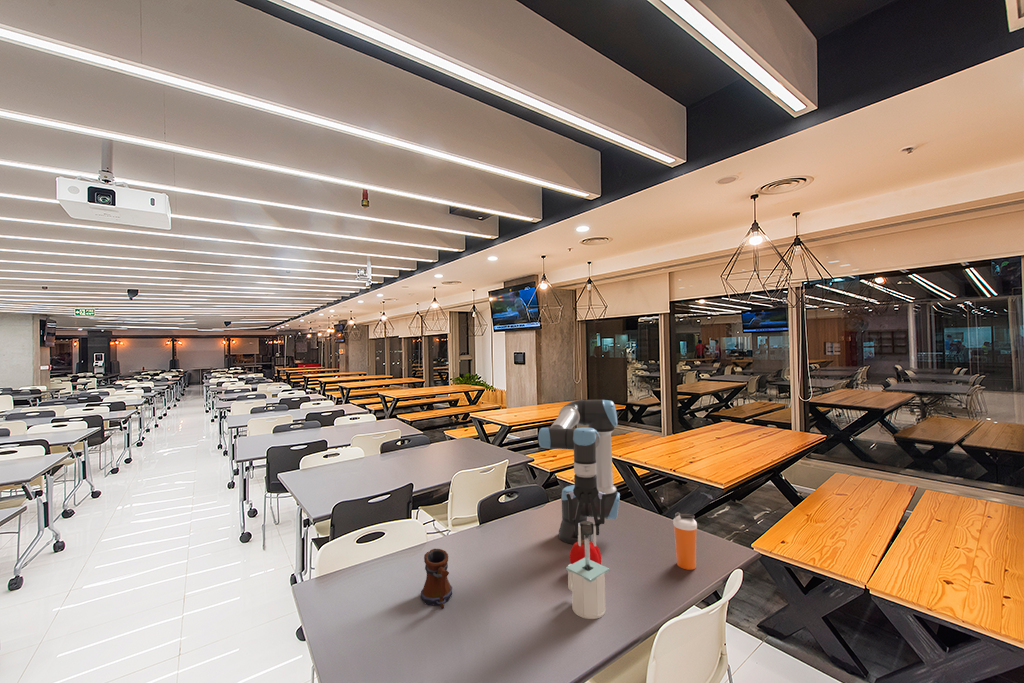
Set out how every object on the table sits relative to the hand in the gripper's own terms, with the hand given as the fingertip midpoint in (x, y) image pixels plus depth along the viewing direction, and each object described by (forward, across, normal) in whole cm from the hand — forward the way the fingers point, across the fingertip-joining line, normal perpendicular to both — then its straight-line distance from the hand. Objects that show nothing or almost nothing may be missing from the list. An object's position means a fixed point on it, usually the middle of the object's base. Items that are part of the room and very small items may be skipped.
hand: (587, 544), depth 136 cm
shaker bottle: (+21, +42, +30) cm, 56 cm away
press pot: (+21, -1, +1) cm, 21 cm away
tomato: (+21, +1, +21) cm, 30 cm away
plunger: (+12, 0, 0) cm, 12 cm away
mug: (+22, -52, +2) cm, 56 cm away
